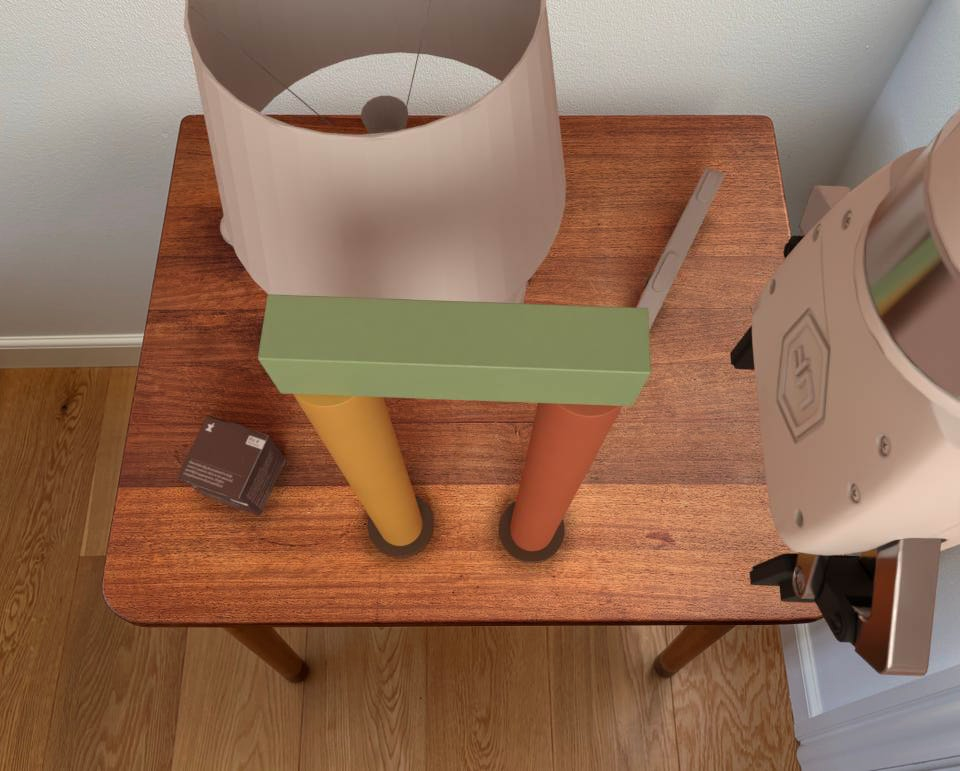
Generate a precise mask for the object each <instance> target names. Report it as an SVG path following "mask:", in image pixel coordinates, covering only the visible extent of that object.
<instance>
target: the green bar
mask: <svg viewBox="0 0 960 771" xmlns="http://www.w3.org/2000/svg"><path fill="white" fill-rule="evenodd" d="M650 334H651V333H650V330H649V313H648V308H634V307H629V306H606V305H605V306H603V305H602V306H601V305H576V304H573V305H572V304H550V303H549V304H545V303H523V304H522V303H494V302H467V301H439V300H411V299H384V298H356V297H328V296H301V295H273V294H269V295H268V294H267V296H266V302H265V310H264V316H263V322H262V328H261V334H260V340H259V347H258V352H257V360H258V361H259V363H260V364H261V366H262V367H263V369H264V370H265V372H266V374H267V375H268V376H269V378H270V379H271V381H272V382H273V384H274V385H275V387H276V389H277V390H278V391H279V393H280V394H292V395H293V394H314V395H341V396H368V397H384V398H399V399H400V398H401V399H425V400H448V401H449V400H450V401H451V400H452V401H478V402H479V401H480V402H502V403H503V402H509V403H531V404H538V403H556V404H583V405H610V406H622V407H633V406H634V404H635V403H636V401H637V399H638V397H639V395H640V394H641V392H642V390H643V388H644V387H645V385H646V383H647V381H648V380H649V378H650V376H651V375H652V359H651V358H652V355H651V336H650Z"/></svg>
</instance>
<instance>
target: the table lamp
mask: <svg viewBox="0 0 960 771" xmlns="http://www.w3.org/2000/svg"><path fill="white" fill-rule="evenodd" d="M549 25H550V24H549V18H548V8H547V0H185V3H184V15H183V28H184V31H185V34H186V37H187V41H188V43H189V47H190V53H191V58H192V62H193V67H194V73H195V77H196V82H197V87H198V91H199V96H200V102H201V106H202V111H203V116H204V117H203V118H204V122H205V127H206V133H207V137H208V142H209V147H210V152H211V158H212V163H213V168H214V172H215V173H214V174H215V178H216V183H217V188H218V193H219V199H220V203H221V208H222V214H223V216H224V219H225V224H226V229H227V232H228V235H229V237H230V240H231V242H232V245H233V246H232V245H231V246H232V247H233V249H234V252H235V255H236V257H237V258H238V260H239V261H240V263H241V264H242V266H243V268H245V270H246V272H247V273H248V274H249V276H250V277H251V279H252V280H253V281H254V282H255V283H256V285H258V286H259V288H260V289H262V290H263V291H264V292H265V293H266V294H267V296H268V295H269V294H273V295H301V296H328V297H356V298H384V299H411V300H439V301H467V302H494V303H522V304H525V296H526V292H527V289H528V288H527V287H528V281H529V280H530V279H531V278H532V276H534V274H535V272H536V271H537V270H538V268H539V267H540V266H541V265H542V263H543V262H544V261H545V259H546V258H547V256H548V255H549V252H550V250H551V249H552V246H553V244H554V242H555V240H556V238H557V236H558V233H559V231H560V227H561V225H562V224H561V223H562V220H563V216H564V212H565V208H566V193H567V175H566V168H565V159H564V150H563V142H562V141H563V140H562V133H561V122H560V115H559V106H558V97H557V88H556V79H555V70H554V61H553V52H552V43H551V35H550V26H549ZM399 53H400V54H402V53H403V54H417V55H416V61H415V64H414V68H413V69H414V70H413V73H412V79H411V82H410V87H409V92H408V96H407V100H406V104H405V102H404V101H403V100H401V99H400V98H398V97H396V96H393V95H378V96H375V97H373V98H371V99H369V100H367V102H366V103H365V104H364V105H363V107H362V109H361V113H360V117H361V122H362V124H363V126H364V127H365V129H366V131H367V134H365V133H364V134H363V133H362V134H353V133H352V134H351V133H342V132H340V131H339V130H337V129H336V128H335V126H333V125H332V124H331V123H330V122H328V121H327V120H326V119H325V118H324V117H322V116H321V115H320V114H319V113H318V112H316V111H315V110H314V109H313V108H312V107H311V106H309V105H308V104H307V103H306V102H305V101H304V100H303V99H301V98H300V97H299V96H298V95H297V94H296V93H294V92H293V91H292V90H291V89H290V87H291V86H293V85H294V84H296V83H298V82H299V81H301V80H303V79H304V78H307V77H308V76H310V75H312V74H315V73H316V72H318V71H320V70H323V69H325V68H328V67H331V66H333V65H336V64H339V63H341V62H345V61H348V60H353V59H358V58H362V57H367V56H372V55H373V56H374V55H384V54H385V55H387V54H399ZM419 55H428V56H433V57H437V58H442V59H448V60H452V61H455V62H459V63H461V64H464V65H467V66H469V67H473V68H475V69H478V70H480V71H482V72H483V73H485V74H487V75H489V76H490V77H493V78H495V79H497V80H498V81H500V82H498V83H497V85H495V86H494V87H492V89H490V90H489V91H488V92H487V93H486V94H483V96H482V97H480V98H478V99H477V100H475V101H473V102H471V103H469V104H468V105H467V106H464V107H463V108H461V109H459V110H458V111H456V112H454V113H452V114H449V115H446V116H443V117H441V118H438V119H436V120H433V121H430V122H428V123H426V124H423V125H417V126H413V127H408V128H407V124H408V120H409V110H408V105H409V99H410V97H411V96H410V95H411V92H412V88H413V82H414V78H415V73H416V69H417V66H418V61H419ZM286 90H287V91H289V93H291V94H292V95H293V96H295V98H297V99H298V100H299V101H300V102H301V103H303V104H304V105H305V106H306V107H307V108H308V109H310V110H311V111H312V112H313V113H314V114H316V115H317V117H319V118H321V119H322V120H323V121H324V122H325V123H327V125H329V126H330V127H331V128H332V129H334V130H335V131H336V132H337V133H335V132H325V131H324V132H323V131H319V130H313V129H309V128H305V127H300V126H295V125H291V124H289V123H287V122H284V121H281V120H278V119H276V118H273V117H271V116H269V115H265V114H263V113H262V111H263V110H264V109H265V108H266V107H267V106H269V104H270V103H271V102H272V101H273V100H274V99H275V98H276V97H278V96H279V95H280V94H282V93H284V92H285V91H286Z"/></svg>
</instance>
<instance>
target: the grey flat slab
mask: <svg viewBox="0 0 960 771" xmlns="http://www.w3.org/2000/svg"><path fill="white" fill-rule="evenodd" d="M725 177H726V174H725V173H724V172H722V171H719V170H717V169H714V168H712V167H709V166H706V167H705V169H704V170H703V172H702V174H701V176H700V178H699V180H698V181H697V183H696V185H695V187H694V190H693V191H692V193H691V194H690V196H689V199H688V201H687V204H686V205H685V207H684V209H683V211H682V213H681V216H680V218H679V219H678V222H677V224H676V226H675V227H674V230H673V231H672V232H671V234H670V236H669V238H668V239H669V240H668V242H667V244H666V245H665V247H664V248H663V250H662V251H661V256H660V257H659V260H658V262H657V263H656V264H655V268H654V269H653V270H652V271H651V273H650V275H649V276H648V277H647V280H646V282H645V285H644V287H643V290H642V292H641V295H640V296H639V298H638V299H637V301H636V303H635V306H634V307H633V308H648V313H649V331H651V328H652V327H653V324H654V322H655V320H656V319H657V316H658V314H659V312H660V310H661V308H662V306H663V304H664V302H665V299H666V298H667V296H668V293H669V291H670V289H671V287H672V286H673V283H674V281H675V279H676V278H677V275H678V273H679V271H680V269H681V267H682V265H683V263H684V261H685V259H686V256H687V255H688V253H689V251H690V249H691V247H692V244H693V242H694V240H695V238H696V236H697V234H698V233H699V230H700V228H701V226H702V224H703V222H704V221H705V218H706V216H707V214H708V212H709V210H710V208H711V205H712V204H713V201H714V199H715V197H716V195H717V193H718V191H719V189H720V187H721V185H722V183H723V181H724V179H725Z"/></svg>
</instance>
